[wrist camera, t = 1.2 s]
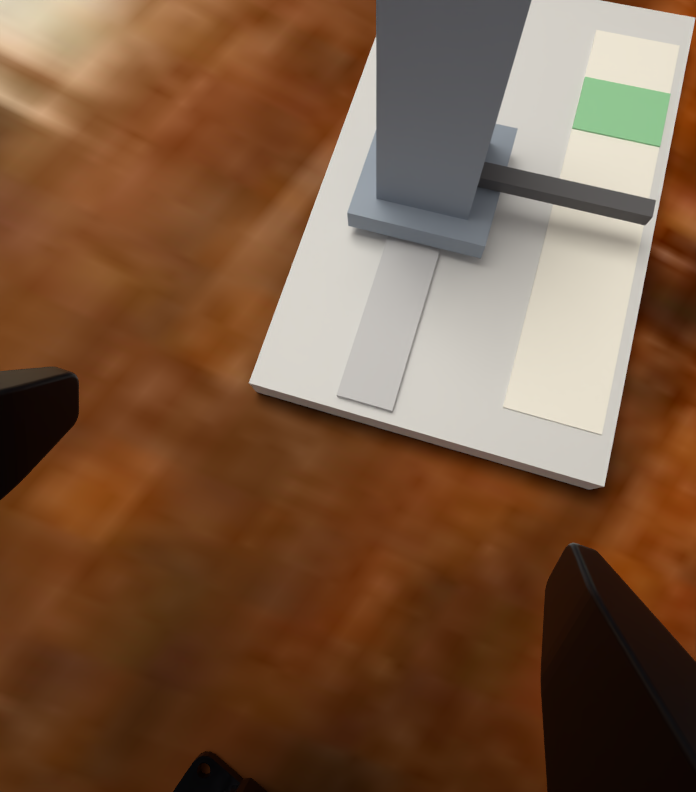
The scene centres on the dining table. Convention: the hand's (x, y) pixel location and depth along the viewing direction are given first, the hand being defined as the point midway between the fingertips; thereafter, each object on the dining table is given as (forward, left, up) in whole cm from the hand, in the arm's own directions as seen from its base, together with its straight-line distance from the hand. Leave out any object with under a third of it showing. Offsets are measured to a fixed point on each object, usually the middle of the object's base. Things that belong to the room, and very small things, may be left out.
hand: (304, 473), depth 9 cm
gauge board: (+16, +3, -14) cm, 21 cm away
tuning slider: (+15, +2, -12) cm, 19 cm away
